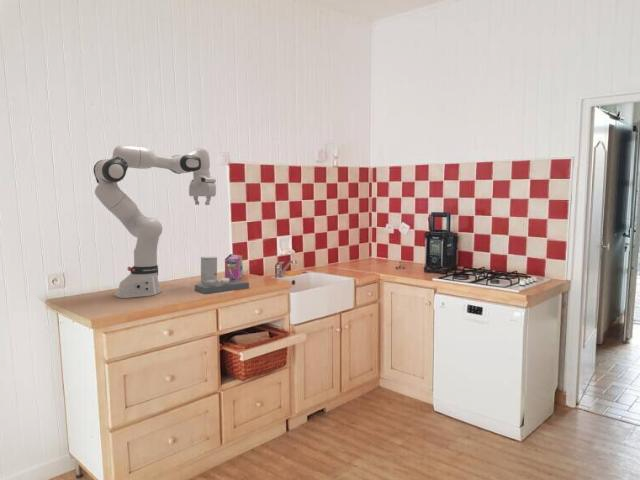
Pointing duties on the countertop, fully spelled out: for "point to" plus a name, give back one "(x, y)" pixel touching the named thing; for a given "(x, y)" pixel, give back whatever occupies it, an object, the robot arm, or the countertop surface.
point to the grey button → (211, 282)
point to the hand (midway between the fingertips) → (202, 204)
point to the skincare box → (208, 269)
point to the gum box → (234, 266)
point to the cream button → (224, 280)
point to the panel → (221, 286)
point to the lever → (230, 271)
